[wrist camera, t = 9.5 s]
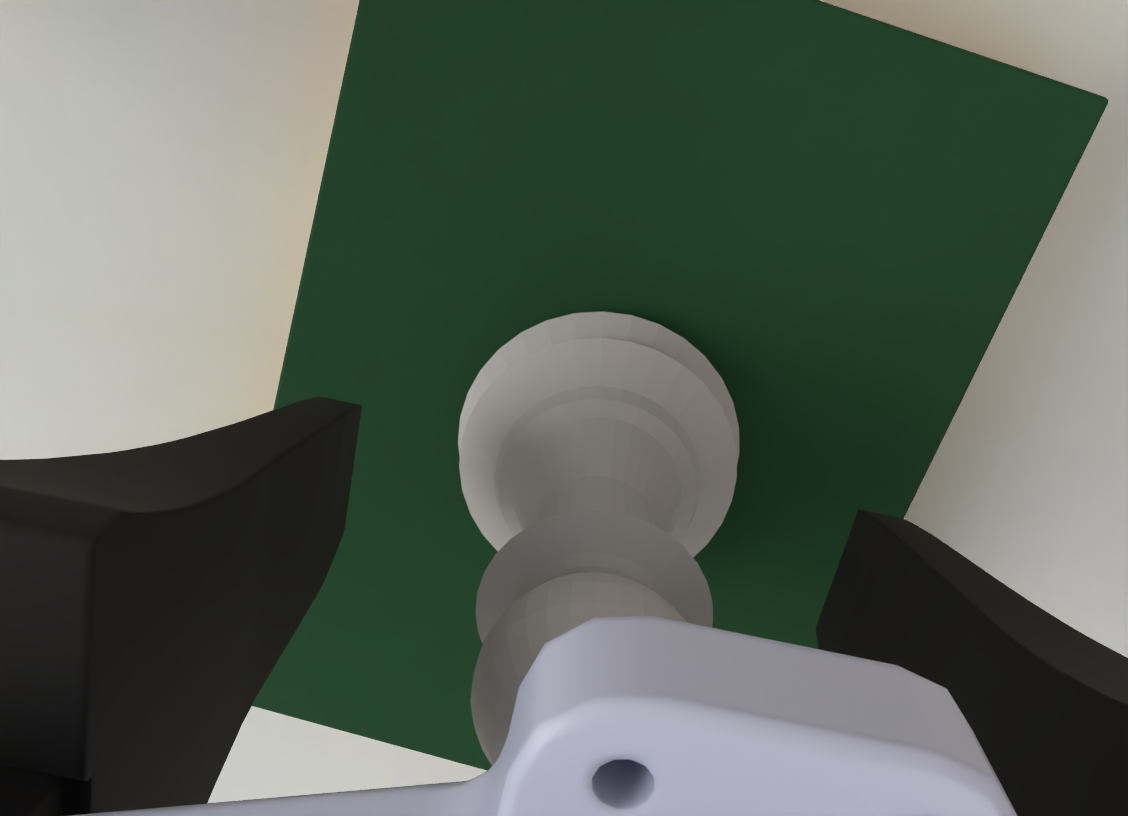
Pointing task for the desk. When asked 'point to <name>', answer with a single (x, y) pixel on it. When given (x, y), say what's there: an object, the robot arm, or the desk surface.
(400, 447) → the sponge
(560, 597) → the chess piece
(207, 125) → the desk surface
